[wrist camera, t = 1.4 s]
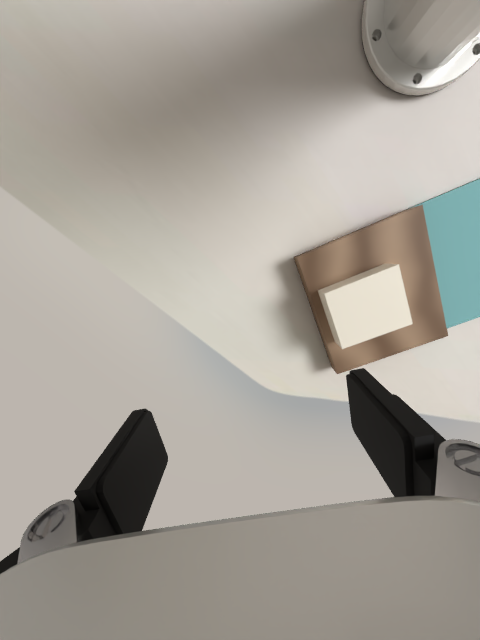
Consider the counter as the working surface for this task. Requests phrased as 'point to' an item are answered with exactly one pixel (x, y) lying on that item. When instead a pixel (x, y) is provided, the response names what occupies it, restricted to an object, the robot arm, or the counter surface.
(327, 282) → the board
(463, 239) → the mat
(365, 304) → the block
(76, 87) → the counter surface
